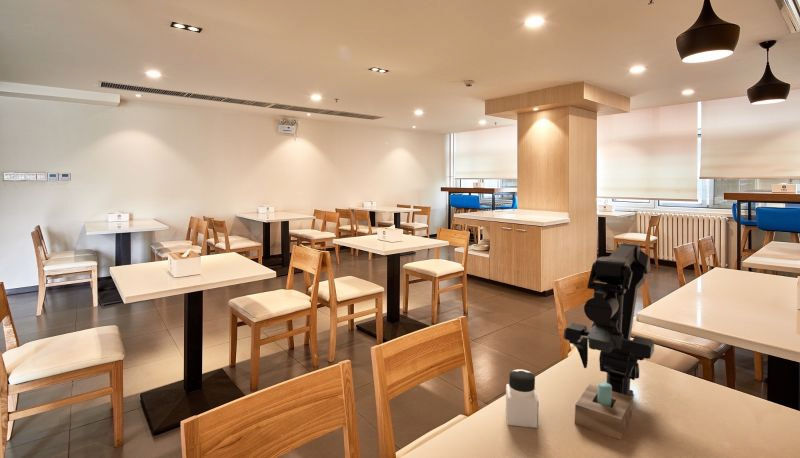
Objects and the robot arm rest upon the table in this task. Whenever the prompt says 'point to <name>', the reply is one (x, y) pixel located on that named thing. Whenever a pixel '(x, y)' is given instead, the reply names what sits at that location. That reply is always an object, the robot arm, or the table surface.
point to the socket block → (603, 412)
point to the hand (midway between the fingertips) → (605, 373)
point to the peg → (604, 394)
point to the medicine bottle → (521, 399)
